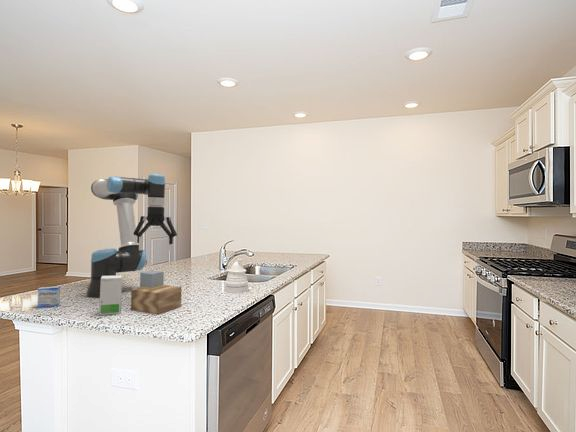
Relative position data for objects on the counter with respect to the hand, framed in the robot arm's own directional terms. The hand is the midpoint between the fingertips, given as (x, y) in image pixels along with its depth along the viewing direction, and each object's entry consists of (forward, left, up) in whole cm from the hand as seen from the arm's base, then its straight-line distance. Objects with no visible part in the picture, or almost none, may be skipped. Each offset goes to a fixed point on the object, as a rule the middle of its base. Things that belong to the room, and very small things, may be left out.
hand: (154, 250), depth 163 cm
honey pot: (+22, +39, -25) cm, 51 cm away
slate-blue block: (+5, -7, -16) cm, 18 cm away
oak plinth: (+8, -7, -25) cm, 27 cm away
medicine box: (-37, -26, -25) cm, 52 cm away
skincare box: (-4, -21, -25) cm, 33 cm away
